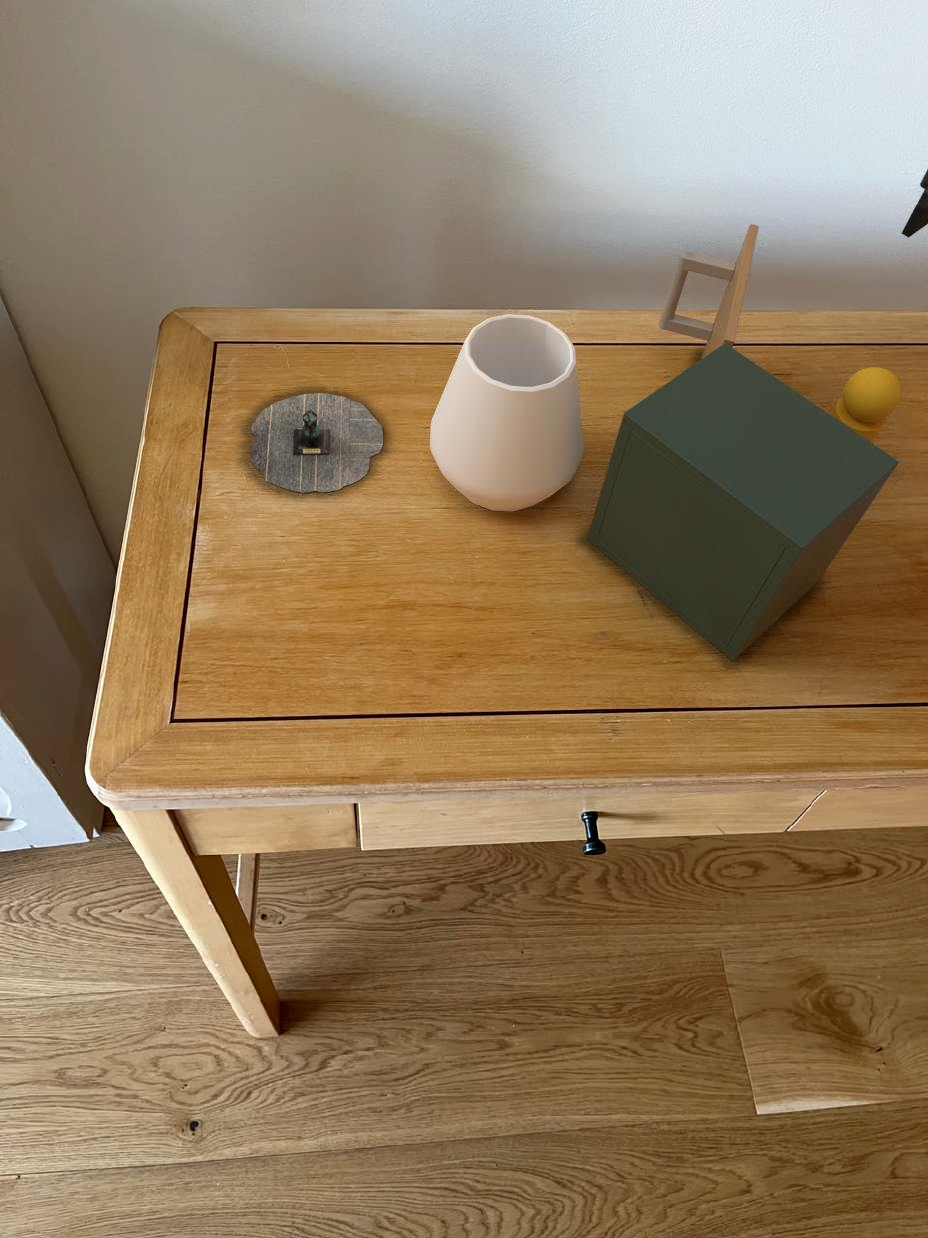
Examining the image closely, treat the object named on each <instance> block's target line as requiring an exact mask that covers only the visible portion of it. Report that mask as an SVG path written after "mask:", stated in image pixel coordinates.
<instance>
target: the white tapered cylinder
mask: <svg viewBox="0 0 928 1238" xmlns="http://www.w3.org/2000/svg"><path fill="white" fill-rule="evenodd" d="M577 366H578V365H577V356H576V347H575V346H574V344H573V342H572V340H571V339H570V338H569V336H568V335H567V334H566V332H564V331H563V330H562V329H560V328H559V327H557V326H556V325H554V324H553V323H552V322H550V321H547V320H545V319H542V318H538V317H536V316H532V315H528V314H513V313H512V314H511V313H507V314H502V315H497V316H493V317H488V318H487V319H485V320H484V321H482V322H481V323H479V324H477V325H476V326H473V328H472V329H471V330H470V332H469V334H468V335H467V337H466V338H465V339H464V342H463V343H462V347H461V349H460V351H459V354H458V356H457V359H456V361H455V363H454V366H453V368H452V370H451V373H450V375H449V378H448V379H447V382H446V385H445V387H444V389H443V392H442V394H441V397H440V399H439V402H438V403H437V406H436V409H435V411H434V413H433V416H432V418H431V422H430V429H429V430H430V431H429V432H430V433H429V448H430V452H431V455H432V457H433V459H434V461H435V463H436V465H437V467H438V469H439V470H440V473H441V475H442V476H443V477H444V478H445V479H446V480H447V481H448V482H449V483H450V484H451V485H452V486H453V487H454V488H455V489H456V490H457V491H458V493H460V494H461V495H463V496H464V497H465V498H466V499H467V500H468V501H470V502H471V503H472V504H474V505H476V506H479V507H481V508H484V509H487V510H490V511H493V512H495V511H496V512H497V511H498V512H517V511H520V510H523V509H527V508H531V507H533V506H535V505H537V504H538V503H540V502H542V501H544V500H546V499H548V498H551V496H553V495H554V494H555V493H556V492H558V491H559V490H561V489H562V488H563V487H564V486H566V485H567V484H569V483H570V482H571V481H572V479H573V477H574V476H575V474H576V472H577V470H578V467H579V465H580V464H581V461H582V459H583V457H584V451H585V447H584V446H585V445H584V435H583V425H582V424H583V423H582V413H581V412H582V411H581V399H580V390H579V378H578V368H577Z"/></svg>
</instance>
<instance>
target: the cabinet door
mask: <svg viewBox="0 0 928 1238" xmlns="http://www.w3.org/2000/svg"><path fill="white" fill-rule="evenodd" d="M759 228H760V226H759V225H758V224H753V223H750V224H749V225H748V228H747V231H746V233H745V236H744V238H743V242H742V244H741V246H740V247H741V248H740V250H739V253H738V256H737V258H736V261H730V260H726V259H722V258H717V257H714V256H711V255H706V254H701V253H698V252H693V251H689V250H682V251H680V252H679V255H678V258H677V261H676V264H675V268H674V271H673V275H672V278H671V281H670V285H669V287H668V291H667V295H666V298H665V301H664V305H663V308H662V311H661V314H660V317H659V320H658V327H659V329H661V330H664V331H668V332H673V333H676V334H680V335H684V336H687V337H692V338H696V339H699V340H704V341H706V344H705V346H704V349H703V351H702V354H701V359H703V358H704V357H705V356H707V355H708V354H710V353H711V352H713V351H714V350H716V349H717V348H718V347H720V346H721V345H723V344H724V343H726V344H727V345H729V346H730V347H732V348H734V344H735V341H736V337H737V332H738V327H739V322H740V318H741V314H742V309H743V303H744V298H745V293H746V289H747V284H748V281H749V276H750V270H751V265H752V261H753V257H754V255H753V254H754V252H755V246H756V242H757V239H758V238H757V237H758V232H759ZM689 272H691V273H695V274H700V275H703V276H707V277H712V278H715V279H718V280H719V279H720V280H724V281H728V283H727V285H726V288H725V291H724V294H723V296H722V299H721V301H720V302H721V303H720V305H719V308H718V310H717V314H716V315H715V318H714V321H713V323H712V322H708V321H704V320H700V319H696V318H692V317H688V316H685V315H680V314H676V311H677V308H678V305H679V302H680V299H681V296H682V293H683V289H684V287H685V283H686V280H687V278H688V277H687V276H688V273H689ZM701 359H700V360H701Z"/></svg>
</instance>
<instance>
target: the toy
mask: <svg viewBox="0 0 928 1238" xmlns="http://www.w3.org/2000/svg"><path fill="white" fill-rule="evenodd" d="M901 397H902V387H901V383H900V381H899V379H898V377H897V376H896V375H895V374H894V373H893V372H892V371H890V370H888V369H886V368H884V367H880V366H870V367H865V368H863V369H860V370H859V371H857V372H855V373H854V374H853V375H851V376H850V377H849V378H848V380H847V382H846V383H845V385H844V388H843V391H842V397H841V398H839V399H838V401H837V402H836V403H835V405H834V407H833V408H832V409H833V410H831V413H829V414H830V415H832V416H833V417H834V418H836V419H837V420H839V421H840V422H842V423H843V424H845V425H846V426H848V427H849V428H851V429H852V430H854V431H855V432H856V433H858V434H859V435H861V436H862V437H864V438H865V439H867V440H868V441H870V442H871V443H873V444H874V442H875V440H876V439H877V437H878V435H879V434H880V432H881V431H882V429H883V427H884V426H885V424H886V421H887V417H889V416H890V415H891V414H893V412H894V411H895V410H896V409H897V407H898V405H899V404H900V401H901Z"/></svg>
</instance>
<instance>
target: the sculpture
mask: <svg viewBox="0 0 928 1238" xmlns="http://www.w3.org/2000/svg"><path fill="white" fill-rule="evenodd" d="M250 433H251V434H252V435H253V436H254V438H253V439H252V442H251V443H250V451H249V453H250V457H251V459H250V462H251V463H252V464H253V466H254V468H256V470H257V471H258V472H259V474H260V475H261V476H262V478H263V479H264V481H265V482H266V483H270V484H273V485H274V486H275V487H280V488H283V489H284V490H289V491H292V492H295V493H304V494H305V493H310V492H318V493H330V492H332V491H340V489H342V488H344V487H345V486H349V485H352V484H354V483H356V482H358V481H360V480H361V479H363V478H364V477H365V476H367V474H368V472H369V469H370V461H371V459H370V458H371V457H372V456H376V455H377V454H379V453H381V451H382V449H383V447H384V432H383V426H382V425H381V424H380V422H379V421H378V420H377V419H376V418H375V417H374V416H373V414H372V413H371V411H369V410H368V408H366V406H365V405H364V404H363V403H362V402H359V401H356V400H352V399H350V398H348V397H346V396H342V395H337V394H331V393H326V392H311V393H304V394H298V395H296V396H291V397H286V398H285V399H281V400H278V401H276V402H275V403H272V404H270V406H268V407H266V408H264V409H262V410H261V412H260V413H259V415H258V416H257V417H256V419H255V421H254V422H253V423H251V426H250Z"/></svg>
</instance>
